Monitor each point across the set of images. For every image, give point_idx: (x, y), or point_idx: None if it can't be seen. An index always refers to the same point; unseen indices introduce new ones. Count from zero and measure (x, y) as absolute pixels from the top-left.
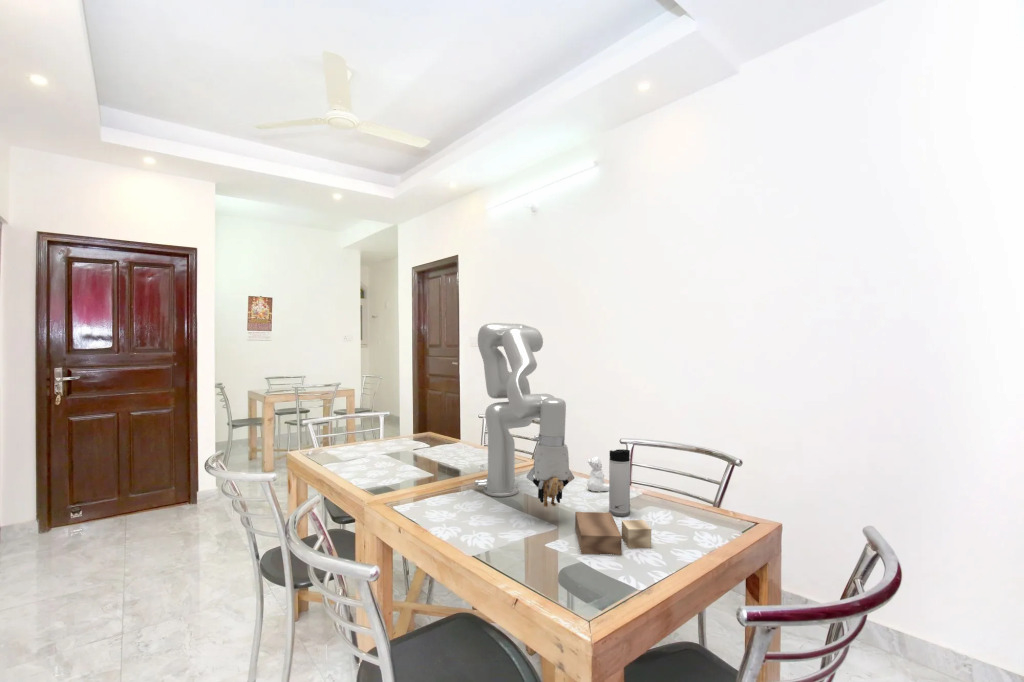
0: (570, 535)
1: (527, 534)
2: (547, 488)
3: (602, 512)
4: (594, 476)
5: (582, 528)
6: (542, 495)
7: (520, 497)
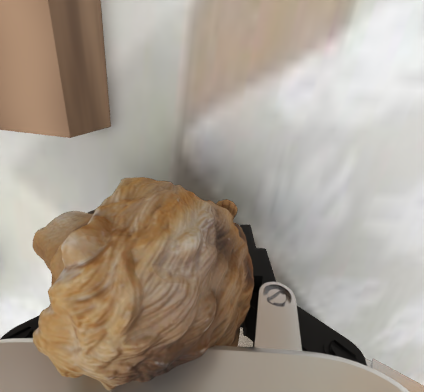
0: (133, 44)
1: (321, 69)
2: (229, 235)
3: None
4: None
5: None
6: (248, 247)
7: None
